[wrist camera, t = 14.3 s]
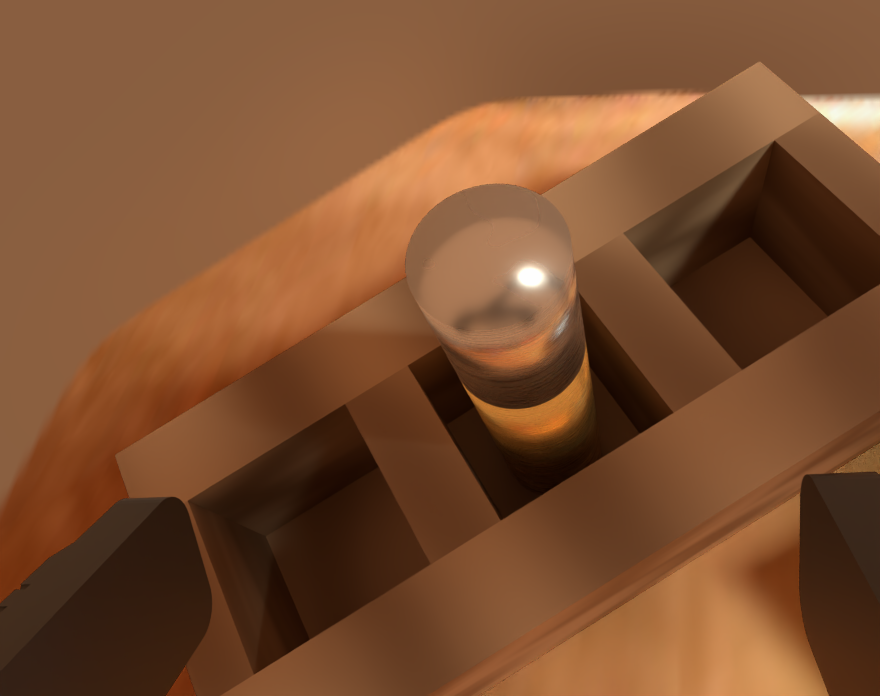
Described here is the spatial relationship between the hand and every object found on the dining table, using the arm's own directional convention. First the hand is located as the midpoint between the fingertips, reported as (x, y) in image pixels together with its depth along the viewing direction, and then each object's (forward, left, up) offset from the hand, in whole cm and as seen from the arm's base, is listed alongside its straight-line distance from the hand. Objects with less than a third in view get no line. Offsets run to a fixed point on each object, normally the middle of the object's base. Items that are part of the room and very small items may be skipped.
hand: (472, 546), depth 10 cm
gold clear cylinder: (-3, -5, -14) cm, 15 cm away
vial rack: (-3, -5, -15) cm, 16 cm away
